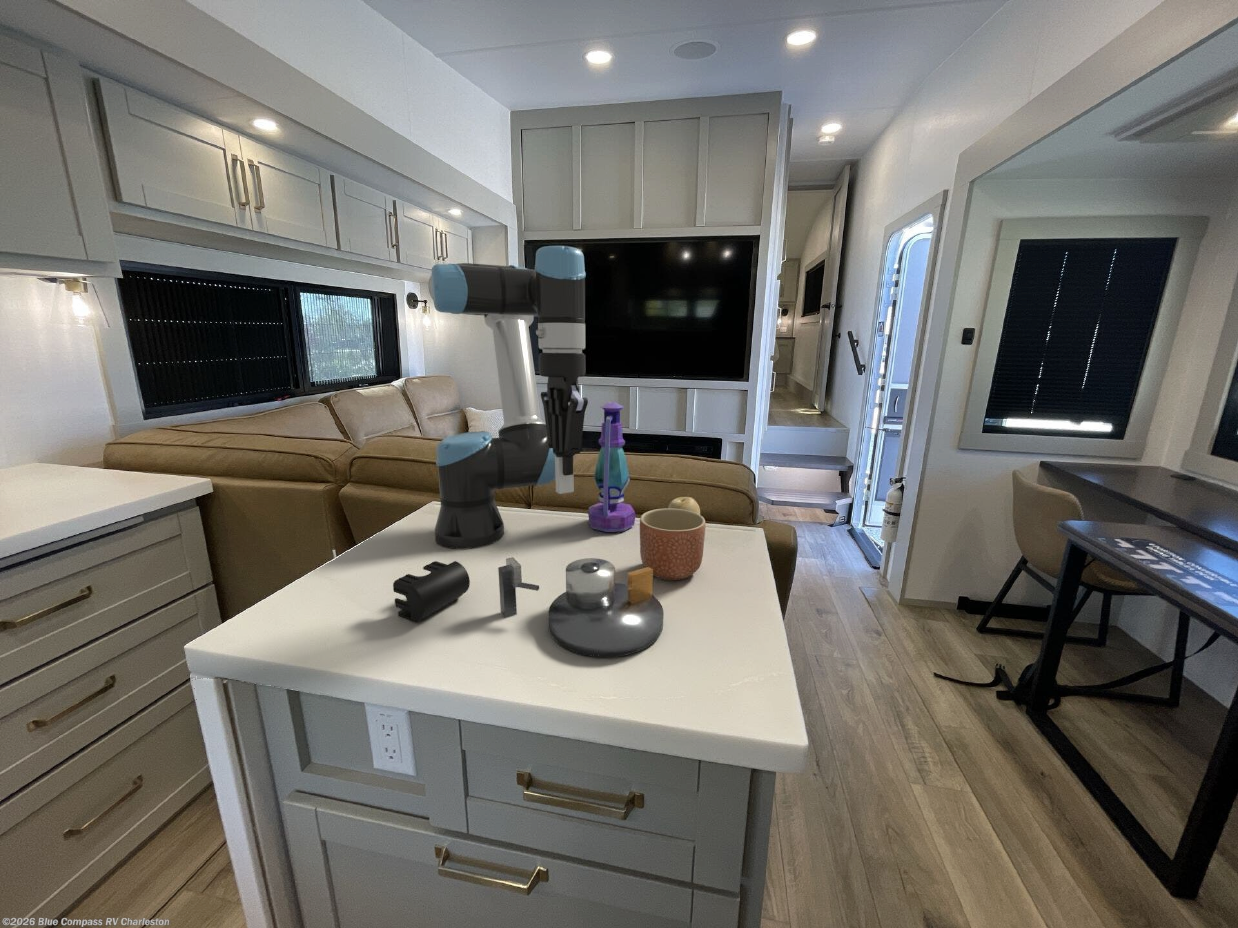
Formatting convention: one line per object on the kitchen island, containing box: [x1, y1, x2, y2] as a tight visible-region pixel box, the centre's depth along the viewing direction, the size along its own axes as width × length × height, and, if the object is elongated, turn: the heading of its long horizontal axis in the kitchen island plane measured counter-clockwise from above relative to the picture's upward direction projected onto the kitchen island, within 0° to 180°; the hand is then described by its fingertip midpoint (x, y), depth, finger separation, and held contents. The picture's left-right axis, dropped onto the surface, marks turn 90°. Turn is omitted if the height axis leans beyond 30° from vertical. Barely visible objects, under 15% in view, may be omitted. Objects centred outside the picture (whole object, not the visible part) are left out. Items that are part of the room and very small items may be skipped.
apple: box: [668, 496, 701, 515], centre depth 118 cm, size 8×8×8 cm
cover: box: [565, 557, 616, 609], centre depth 80 cm, size 8×8×5 cm
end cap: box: [392, 560, 471, 623], centre depth 81 cm, size 10×7×7 cm
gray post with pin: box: [497, 556, 540, 618], centre depth 79 cm, size 6×5×9 cm
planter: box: [639, 507, 706, 581], centre depth 94 cm, size 12×12×11 cm
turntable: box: [547, 567, 664, 658], centre depth 76 cm, size 18×18×7 cm
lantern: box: [587, 401, 636, 533], centre depth 115 cm, size 13×12×30 cm
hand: (564, 491), depth 84 cm, fingers closed
